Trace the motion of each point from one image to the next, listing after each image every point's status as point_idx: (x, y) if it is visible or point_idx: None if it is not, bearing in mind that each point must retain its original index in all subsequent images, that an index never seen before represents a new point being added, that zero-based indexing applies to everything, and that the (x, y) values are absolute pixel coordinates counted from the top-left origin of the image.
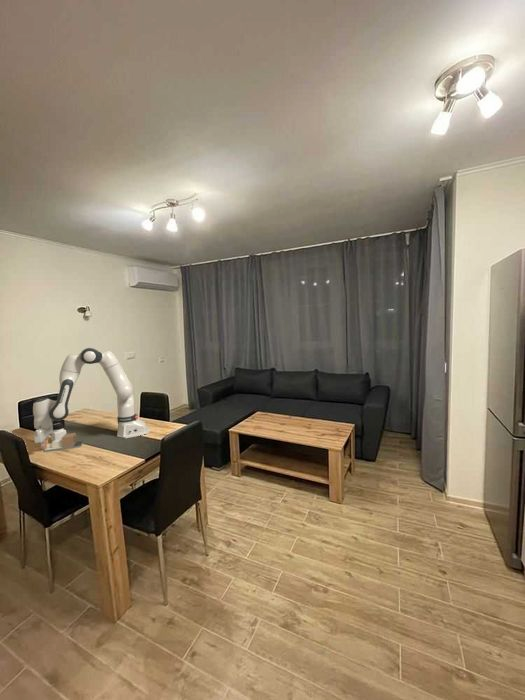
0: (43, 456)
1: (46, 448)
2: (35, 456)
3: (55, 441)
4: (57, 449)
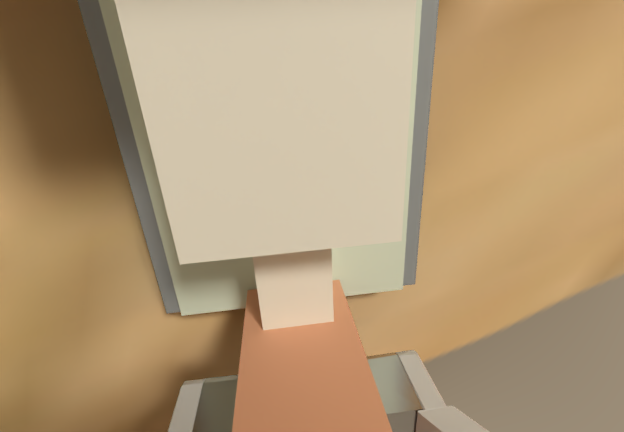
0: (599, 199)
1: (341, 284)
2: (525, 311)
3: (311, 157)
4: (427, 40)
